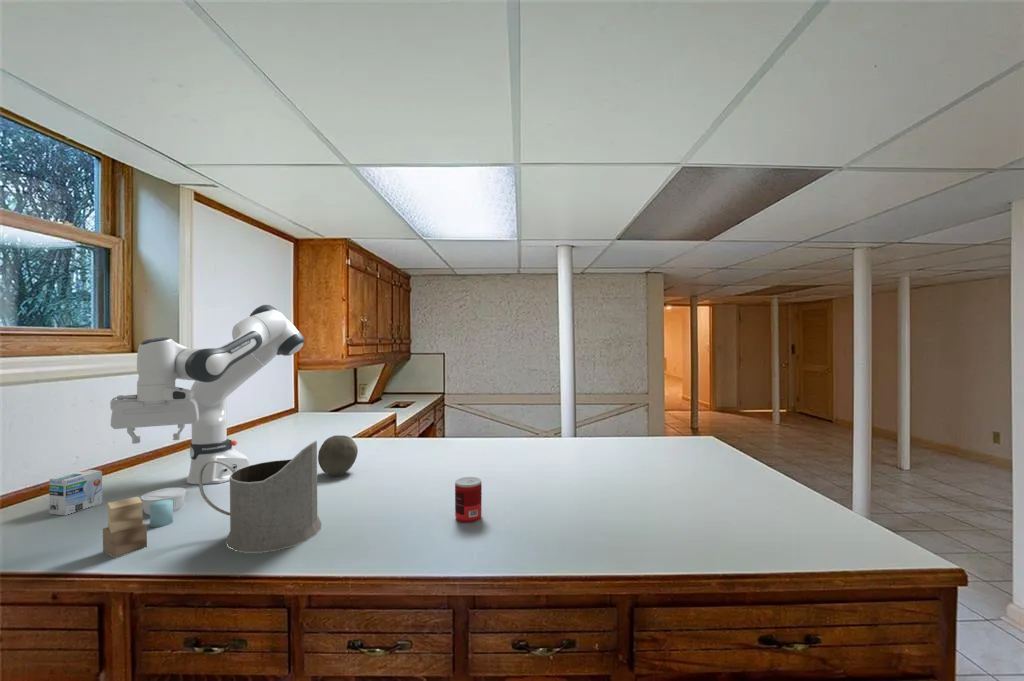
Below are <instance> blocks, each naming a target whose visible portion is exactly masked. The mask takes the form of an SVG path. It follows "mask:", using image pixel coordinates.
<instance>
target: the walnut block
mask: <svg viewBox="0 0 1024 681" xmlns="http://www.w3.org/2000/svg"><path fill="white" fill-rule="evenodd" d="M147 529H148V528H147V523H145V522H143V526H140V527H135V528H131V529H127V530H123V531H119V532H115V533H111V532H110V530H109V528H108V526H107V527H103V528H102V553H103V552H105V553H104V554H106V553H107V554H106V555H108V554H110V555H112V556H114V557H113V558H115V557H118V556H120V557H122V556H121V555H123V556H125V555H124V554H126V555H128V554H127V553H129V554H131V553H130V552H132V553H133V551H135V552H137V551H140V550H142V548H143V549H145V548H144V547H146V548H148V534H147V532H148V530H147ZM139 549H140V550H139ZM136 550H137V551H136ZM110 555H109V556H110ZM112 556H111V557H112ZM118 558H119V557H118Z"/></svg>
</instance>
